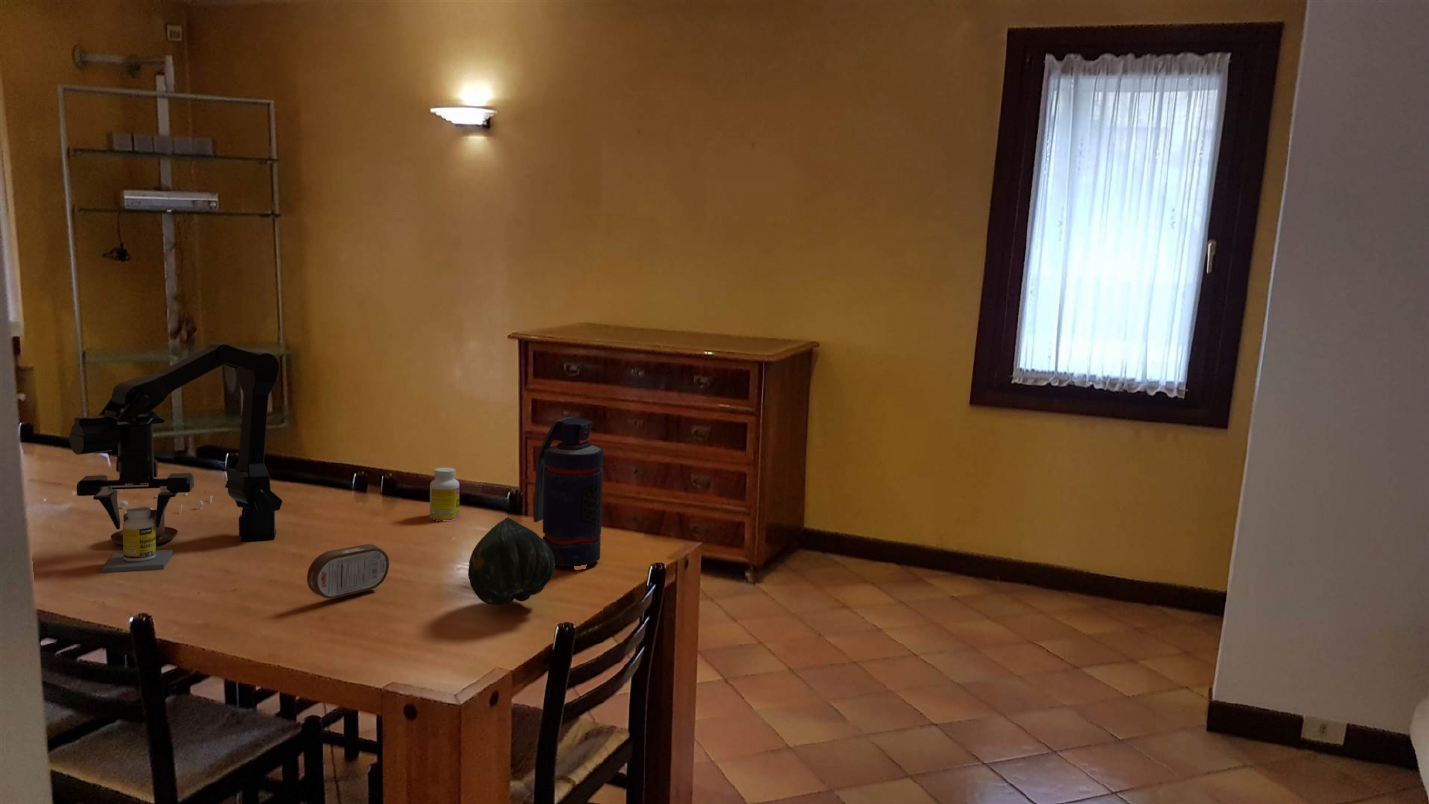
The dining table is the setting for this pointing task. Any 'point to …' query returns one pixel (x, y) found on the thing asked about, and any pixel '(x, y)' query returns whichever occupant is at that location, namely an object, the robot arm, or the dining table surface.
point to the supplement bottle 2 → (444, 495)
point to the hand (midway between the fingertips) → (138, 528)
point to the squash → (510, 564)
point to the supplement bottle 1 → (139, 535)
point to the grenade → (570, 492)
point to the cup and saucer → (160, 532)
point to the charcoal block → (122, 565)
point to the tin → (348, 571)
